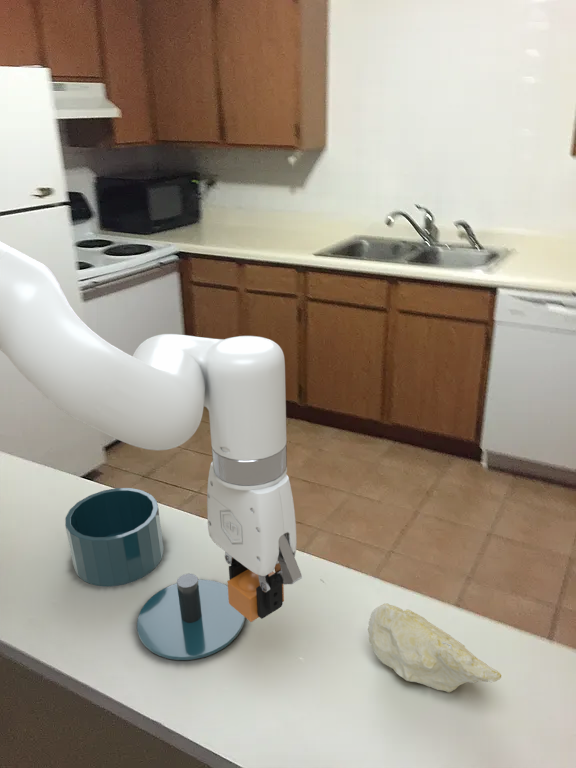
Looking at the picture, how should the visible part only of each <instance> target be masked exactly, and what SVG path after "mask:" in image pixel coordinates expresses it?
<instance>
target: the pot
mask: <svg viewBox="0 0 576 768" xmlns="http://www.w3.org/2000/svg"><path fill="white" fill-rule="evenodd" d="M64 521H65V522H64V523H65V525H64V526H65V531H66V535H67V540H68V545H69V551H70V555H71V559H72V565H73V569H74V571H75V574H76V575H77V576H78V578H79V579H80V580H82V581H83V582H85V583H87V584H90V585H93V586H97V587H98V586H99V587H118V586H122V585H127V584H131V583H133V582H136V581H138V580H140V579H143V578H144V577H147V576H148V575H149V574H150V573H151V572H153V571H154V570H155V569H156V568H157V567H158V566H159V564H160V563H161V561H162V559H163V556H164V550H165V549H164V548H165V547H164V540H163V533H162V525H161V518H160V510H159V505H158V501H157V499H156V498H155V497H154V496H153V495H152V494H151V493H149V492H147V491H144V490H142V489H139V488H134V487H133V488H132V487H115V488H110V489H104V490H101V491H98V492H95V493H92V494H89V495H88V496H86V497H84V498H83V499H81V500H79V501H78V502H76V503H75V504H74V505H73V506H72V507H71V508H70V509H69V510H68V512H67V514H66V516H65V519H64Z"/></svg>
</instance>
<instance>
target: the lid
mask: <svg viewBox="0 0 576 768" xmlns="http://www.w3.org/2000/svg"><path fill="white" fill-rule="evenodd" d="M245 621H246V618H245V617H244V616H243V615H242V614H241V613H240V612H238V611H237V610H236V609H235V608H234V607H233V606H231V605H230V604H229V597H228V584H227V585H226V584H224V583H223V582H219V581H215V580H210V579H199V578H198V576H197V575H196V574H194V573H184V574H181V575H180V576H179V577H177V580H176V583H173V584H171V585H168V586H166V587H164V588H162V589H161V590H159V591H158V592H156V593H155V594H153V595H152V596H151V597H150V598H149V599H148V600H147V601H146V602H145V604H143V606H142V608H141V609H140V612H139V613H138V616H137V621H136V628H137V629H136V630H137V634H138V637H139V640H140V642H141V643H142V644H143V646H144V647H145V649H147V650H148V651H149V652H151V653H153V654H155V655H157V656H159V657H162V658H163V659H169V660H175V661H190V660H197V659H202V658H205V657H208V656H211V655H213V654H216V653H218V652H220V651H221V650H223V649H224V648H226V647H227V646H229V645H231V643H233V641H234V640H235V639H236V638H237V637H238V636H239V634H240V633H241V631H242V630H243V627H244V625H245Z"/></svg>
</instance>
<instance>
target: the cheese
mask: <svg viewBox="0 0 576 768" xmlns="http://www.w3.org/2000/svg"><path fill="white" fill-rule="evenodd" d="M367 631H368V641H369V644H370V645H371V649H372V651H373V652H374V654H375V655H376V657H377V659H378V660H379V661H380V662H381V663H382V664H383V665H384V666H385V665H386V666H387V667H389V668H390V669H393V671H394V672H395V674H397V675H398V676H399V677H400V678H402V679H403V680H405V681H406V682H411V683H418V684H421V685H423V686H426V687H428V688H432V689H434V690H436V691H442V692H446V693H451V692H453V691H455V690H457V689H458V687H460V686H461V685H464V684H466V683H471V684H473V683H477V682H479V681H480V682H483V683H489V684H492V683H495V682H497V681H499V680H500V679H501V678H502V674H501V673H500V671H498V670H497V669H495V668H493V667H492V666H489V665H488V664H487V663H486V662H484V661H483V660H481V659H479V658H478V657H477V656H476V655H474V654H473V653H472V652H471V651H470V650H468V649H467V648H466V646H465V645H464V644H463V643H461V642H459V640H457V639H455V638H454V637H453V636H451V635H450V634H449V633H448V632H446V631H444V630H443V629H441V628H439V627H438V626H436V625H434V624H433V623H431V622H430V621H428V620H427V619H426V618H425V617H423V616H422V615H420V614H418V613H417V612H415V611H412V610H410V609H404V610H403V609H402V608H400V607H398V606H396V605H392V604H390V603H386V602H385V603H383V604H381V605H379V606H377V607H375V608H374V609H373V610H372V612H371V613H370V617H369V621H368V626H367Z"/></svg>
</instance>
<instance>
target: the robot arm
mask: <svg viewBox="0 0 576 768" xmlns="http://www.w3.org/2000/svg"><path fill="white" fill-rule="evenodd" d="M0 351H1V352H2V353H3V354H4V355H5V356H6V357H7V358H8V359H9V361H10V362H11V363H12V365H13V366H14V367H15V368H16V369H17V371H18V372H19V373H20V374H21V375H22V376H23V377H24V378H25V379H26V380H27V381H28V382H30V384H31V385H32V386H34V388H35V389H37V391H39V392H40V393H41V395H43V396H44V397H45V398H46V399H47V400H48V401H49V402H50V403H51V404H53V405H54V406H55V407H56V408H58V409H60V411H62V412H64V413H66V415H68V416H70V417H71V418H73V419H75V420H77V421H78V422H80V423H82V424H85V425H87V426H88V427H90V428H92V429H94V430H96V431H99V432H100V433H103V434H105V435H107V436H110V437H111V438H113V439H116V440H118V441H120V442H122V443H126V444H128V445H130V446H132V447H137V448H139V449H144V450H150V451H167V450H171V449H175V448H177V447H179V446H182V445H183V444H185V443H186V442H188V441H189V440H190V439H191V438H192V437H193V436H194V435H195V433H196V432H197V430H198V428H199V427H200V424H201V423H202V418H203V414H204V407H205V408H206V410H207V411H208V417H209V430H210V446H211V459H212V460H211V462H210V466H209V470H208V478H207V492H206V509H207V510H206V511H207V513H206V514H207V516H206V517H207V526H208V527H207V531H208V535H209V538H210V540H212V542H213V543H214V544H215V545H216V546H218V547H219V548H220V549H221V550H222V551H224V560H225V562H226V563H227V565H228V574H229V575H228V576H229V577H228V578H229V580H230V579H232V578H234V577H236V576H237V575H239V574H241V573H243V572H244V571H246V570H248V569H249V570H250V571H252V572H254V573H255V574H257V575H258V578H259V583H260V586H258V587H257V588H256V596H257V614H258V616H259V619H261V620H263V619H264V618H266V617H268V616H270V615H271V614H272V613H275V612H276V611H277V610H279V609H280V608H281V607H282V606H283V604H284V602H283V593H282V584H283V586H284V585H285V586H286V585H293V584H296V583H297V582H298V581H300V580H301V579H303V574H302V572H301V570H300V567H299V565H298V562H297V560H296V558H295V557H296V553H297V544H298V543H297V539H298V537H297V520H296V511H295V504H294V503H295V502H294V498H293V491H292V487H291V486H292V485H291V481H290V476H288V474H287V473H288V451H287V450H288V449H287V441H288V440H287V400H286V399H287V398H286V397H287V395H286V392H287V391H286V361H285V354H284V351H283V348H282V347H281V346H280V345H279V344H278V343H277V342H275V341H274V340H272V339H269V338H266V337H263V336H256V335H239V336H233V337H232V336H231V337H227V338H225V339H224V338H212V337H201V336H194V335H187V334H180V333H162V334H157V335H153V336H151V337H148V338H147V339H145V340H144V341H142V342H141V343H140V344H139V345H138V347H136V349H135V351H134V352H133V355H131V354H129V353H127V352H125V351H123V350H122V349H120V348H118V347H117V346H115V345H113V344H111V343H110V342H108V341H107V340H105V339H104V338H103V337H101V336H100V335H99V334H98V333H96V332H95V331H94V330H92V329H91V328H90V327H89V326H88V325H87V324H86V323H85V322H84V321H83V320H82V319H81V317H79V316H78V314H77V313H76V312H75V310H74V309H73V307H72V306H71V304H70V302H69V301H68V298H67V296H66V294H65V292H64V290H63V288H62V285H61V283H60V281H59V280H58V278H57V276H56V275H55V273H54V272H53V271H52V270H51V268H50V267H49V266H47V265H46V264H44V263H43V262H41V261H40V260H37V259H35V258H34V257H32V256H30V255H28V254H27V253H24V252H23V251H21V250H20V249H19V250H18V249H17V248H15V247H12V246H11V245H9V244H7V243H5V242H3V241H2V240H0ZM271 572H275V573H274V574H273V575H271V576H269V575H268V574H269V573H271Z"/></svg>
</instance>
